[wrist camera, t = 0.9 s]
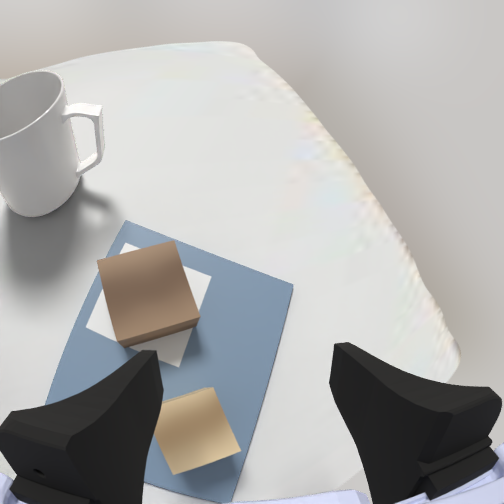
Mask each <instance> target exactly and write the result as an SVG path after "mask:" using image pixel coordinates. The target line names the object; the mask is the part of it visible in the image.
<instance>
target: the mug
mask: <svg viewBox="0 0 504 504" xmlns="http://www.w3.org/2000/svg"><path fill="white" fill-rule="evenodd" d="M102 109H103V106H102V105H91V104H86V103H76V104H73V105H68V103H67V97H66V91H65V85H64V81H63V79H62V77H61V76H60V75H58V74H57V73H55V72H52V71H46V70H38V71H31V72H27V73H23V74H21V75H18V76H15V77H13V78H11V79H9V80H7V81H5V82H4V83H2V84H0V194H1V195H2V197H3V199H4V200H5V202H6V203H7V205H8V206H9V208H10V209H11V210H13V211H14V212H15V213H17V214H19V215H22V216H26V217H37V216H42V215H45V214H48V213H50V212H52V211H54V210H56V209H57V208H59V207H60V206H61V205H62V204H64V203H65V202H66V201H67V200H68V199H69V197H70V196H71V195H72V194H73V192H74V191H75V189H76V187H77V185H78V182H79V179H80V176H81V175H82V174H84V173H85V172H87V171H88V170H90V169H91V168H93V167H95V166H96V165H98V164H99V163H100V162H101V160H102V157H103V153H104V149H105V141H104V129H103V114H102ZM75 116H80V117H87V118H89V119H91V120H92V121H93V122H94V127H95V137H96V146H97V152H96V153H94V154H93V155H91V156H90V157H88V158H87V159H85V160H84V161H82V162H80V158H79V154H78V150H77V145H76V141H75V137H74V132H73V128H72V123H71V117H75Z"/></svg>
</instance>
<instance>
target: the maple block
mask: <svg viewBox="0 0 504 504" xmlns="http://www.w3.org/2000/svg"><path fill="white" fill-rule="evenodd" d="M154 435H155V437H156V440H157V442H158V444H159V446H160V448H161V451H162V453H163V455H164V457H165V459H166V461H167V463H168V465H169V467H170V469H171V472H172V474H173V475H175V474H178V473H181V472H184V471H188V470H191V469H194V468H197V467H200V466H203V465H205V464H208V463H211V462H214V461H217V460H219V459H222V458H225V457H227V456H230V455H232V454H235V453H237V452H240V451H241V449H240V447H239V445H238V443H237V441H236V438H235V436H234V434H233V432H232V430H231V427H230V425H229V423H228V421H227V418H226V416H225V414H224V411H223V409H222V407H221V404H220V402H219V400H218V397H217V395H216V393H215V390H214V388H213V387H208V388H202V389H199V390H196V391H193V392H190V393H187V394H184V395H181V396H178V397H175V398H172V399H169V400H165V401H162V406H161V411H160V415H159V418H158V421H157V425H156V428H155V431H154Z"/></svg>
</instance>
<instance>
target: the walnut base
mask: <svg viewBox="0 0 504 504" xmlns="http://www.w3.org/2000/svg"><path fill="white" fill-rule="evenodd" d="M97 264H98V269H99V273H100V278H101V282H102V287H103V291H104V295H105V299H106V303H107V307H108V311H109V315H110V319H111V323H112V326H113V330H114V333H115V337H116V340H117V342H118V343H119V344H120V345H121V346H122V347H123V348H127V347H130V346H134V345H137V344H141V343H144V342H148V341H151V340H154V339H158V338H161V337H164V336H168V335H171V334H174V333H177V332H181V331H184V330H187V329H190V328H193V327H196V326H197V324H198V321H199V319H200V317H201V316H200V314H199V311H198V308H197V305H196V303H195V300H194V297H193V294H192V291H191V288H190V286H189V283H188V280H187V277H186V274H185V271H184V268H183V265H182V262H181V259H180V256H179V253H178V250H177V247H176V244H175V241H174V240H173V241H169V242H165V243H161V244H157V245H153V246H149V247H146V248H142V249H138V250H134V251H130V252H127V253H123V254H119V255H115V256H112V257H108V258H104V259H101V260H97Z"/></svg>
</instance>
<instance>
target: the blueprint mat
mask: <svg viewBox="0 0 504 504" xmlns="http://www.w3.org/2000/svg"><path fill="white" fill-rule="evenodd" d="M173 240H174V241H175V244H176V247H177V250H178V253H179V256H180V259H181V262H182V265H183V268H184V271H185V274H186V277H187V280H188V283H189V286H190V288H191V291H192V294H193V297H194V300H195V303H196V305H197V308H198V311H199V314H200V316H201V317H200V319H199V321H198V324H197V326H196V327H193V328H190V329H187V330H184V331H181V332H177V333H174V334H171V335H168V336H164V337H161V338H158V339H154V340H151V341H148V342H144V343H141V344H137V345H134V346H130V347H127V348H123V347H122V346H121V345H120V344H119V343H118V342H117V340H116V337H115V333H114V330H113V326H112V323H111V319H110V315H109V311H108V307H107V303H106V299H105V295H104V291H103V287H102V282H101V278H100V273H99V272H98V274H97V276H96V278H95V280H94V282H93V284H92V286H91V288H90V290H89V293H88V295H87V297H86V299H85V301H84V304H83V306H82V308H81V310H80V313H79V315H78V317H77V320H76V322H75V324H74V327H73V329H72V331H71V334H70V336H69V339H68V341H67V344H66V346H65V349H64V352H63V354H62V357H61V359H60V362H59V365H58V368H57V370H56V373H55V376H54V379H53V382H52V385H51V388H50V391H49V394H48V397H47V400H46V403H45V405H48V404H52V403H55V402H58V401H61V400H63V399H66V398H68V397H71V396H73V395H76V394H78V393H80V392H82V391H84V390H86V389H88V388H90V387H91V386H93V385H95V384H96V383H98V382H100V381H101V380H102V379H104V378H105V377H107V376H108V375H110V374H111V373H113V372H114V371H115V370H117V369H118V368H119V367H121V366H122V365H123V364H125V363H126V362H127V361H128V360H130V359H131V358H132V357H133V356H135V355H136V354H137V353H139V352H140V351H141V350H157V355H158V361H159V367H160V372H161V378H162V383H163V388H164V392H163V400H162V401H165V400H169V399H172V398H175V397H178V396H181V395H184V394H187V393H190V392H193V391H196V390H199V389H202V388H208V387H213V388H214V390H215V393H216V395H217V397H218V400H219V402H220V404H221V407H222V409H223V411H224V414H225V416H226V418H227V421H228V423H229V425H230V427H231V430H232V432H233V434H234V436H235V438H236V441H237V443H238V445H239V447H240V449H241V451H240V452H237V453H235V454H232V455H230V456H227V457H225V458H222V459H219V460H217V461H214V462H211V463H208V464H205V465H203V466H200V467H197V468H194V469H191V470H188V471H184V472H181V473H178V474H175V475H173V474H172V472H171V469H170V467H169V465H168V463H167V461H166V459H165V457H164V455H163V453H162V451H161V448H160V446H159V444H158V442H157V440H156V437H155V435H153V438H152V441H151V445H150V448H149V452H148V456H147V462H146V469H145V476H144V482H147V483H150V484H152V485H155V486H159V487H162V488H165V489H168V490H171V491H175V492H178V493H182V494H185V495H189V496H193V497H197V498H201V499H205V500H210V501H214V502H219V503H230V502H231V499H232V496H233V493H234V490H235V487H236V484H237V481H238V478H239V475H240V472H241V469H242V466H243V463H244V460H245V457H246V454H247V451H248V447H249V444H250V441H251V438H252V435H253V431H254V428H255V425H256V421H257V418H258V415H259V411H260V408H261V405H262V401H263V398H264V394H265V391H266V387H267V384H268V380H269V377H270V373H271V370H272V366H273V362H274V359H275V355H276V351H277V348H278V344H279V340H280V336H281V333H282V329H283V325H284V321H285V317H286V313H287V309H288V305H289V301H290V297H291V293H292V289H293V284H291V283H288V282H285V281H282V280H280V279H277V278H274V277H272V276H269V275H266V274H264V273H261V272H259V271H256V270H253V269H251V268H248V267H245V266H243V265H240V264H237V263H235V262H232V261H230V260H227V259H224V258H222V257H219V256H216V255H214V254H211V253H209V252H206V251H203V250H201V249H198V248H196V247H193V246H191V245H188V244H185V243H183V242H180V241H178V240H175V239H173V238H170V237H167V236H165V235H162V234H160V233H157V232H155V231H152V230H150V229H147V228H145V227H142V226H139V225H137V224H134V223H132V222H129V221H127V220H126V221H125V222H124V224H123V226H122V228H121V230H120V231H119V233H118V235H117V237H116V239H115V241H114V242H113V244H112V246H111V248H110V250H109V252H108V254H107V256H106V258H108V257H112V256H115V255H119V254H123V253H127V252H130V251H134V250H138V249H142V248H146V247H149V246H153V245H157V244H161V243H165V242H169V241H173Z"/></svg>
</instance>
